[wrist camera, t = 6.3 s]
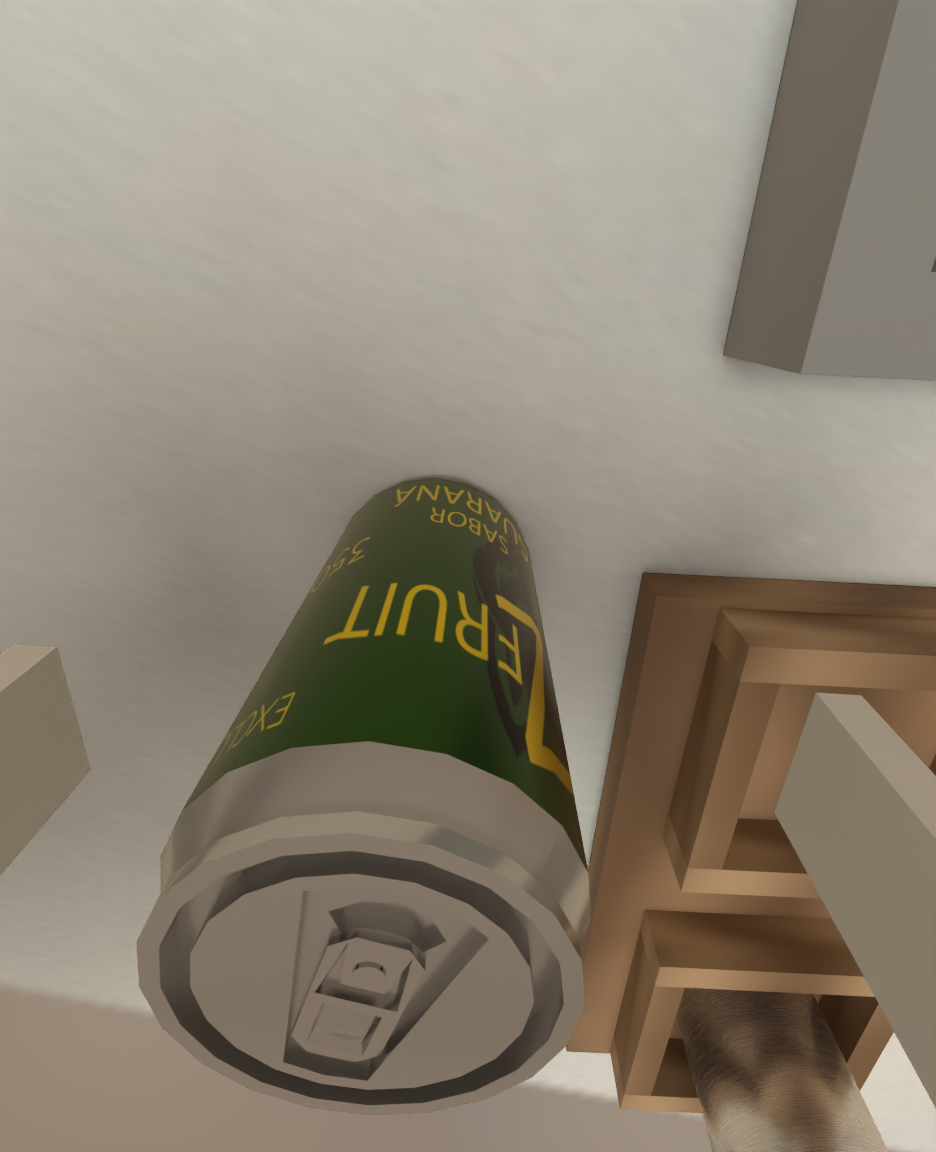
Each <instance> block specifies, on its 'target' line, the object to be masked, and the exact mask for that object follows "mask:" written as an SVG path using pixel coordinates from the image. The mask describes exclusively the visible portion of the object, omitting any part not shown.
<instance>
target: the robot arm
mask: <svg viewBox="0 0 936 1152" xmlns="http://www.w3.org/2000/svg"><path fill="white" fill-rule="evenodd" d="M90 770H91V769H90V766H89V762H88V758H87V755H86V751H85V748H84V744H83V740H82V737H81V733H80V729H79V726H78V722H77V718H76V715H75V711H74V708H73V704H72V700H71V697H70V693H69V689H68V686H67V682H66V678H65V675H64V671H63V667H62V664H61V660H60V657H59V653H58V649H57V647H51V646H35V645H18V644H13V645H12V646H10V647H9V648H7V649H6V650H5V651H3V652H2V653H1V654H0V875H1V874H2V873H3V871H4V870H5V869H6V868H7V867H8V866H9V864H10V863H11V862H12V861H13V860H14V859H15V857H16V856H17V855H18V854H19V853H20V852H21V850H22V849H23V848H24V847H25V846H26V844H27V843H28V842H29V841H30V840H31V839H32V837H33V836H34V835H35V834H36V833H37V832H38V830H39V829H40V828H41V827H42V826H43V825H44V823H45V822H46V821H47V820H48V819H49V818H50V816H51V815H52V814H53V813H54V812H55V811H56V809H57V808H58V807H59V806H60V805H61V804H62V802H63V801H64V800H65V799H66V798H67V797H68V795H69V794H70V793H71V792H72V791H73V789H74V788H75V787H76V786H77V785H78V784H79V782H80V781H81V780H82V779H83V778H84V777H85V775H86V774H87V773H88V772H89V771H90ZM775 815H776V816H777V818H778V820H779V822H780V824H781V826H782V827H783V829H784V831H785V833H786V835H787V837H788V838H789V840H790V842H791V844H792V846H793V848H794V849H795V851H796V853H797V855H798V857H799V859H800V860H801V862H802V864H803V866H804V868H805V870H806V871H807V873H808V875H809V877H810V879H811V881H812V882H813V884H814V886H815V888H816V890H817V892H818V893H819V895H820V897H821V899H822V901H823V903H824V904H825V906H826V908H827V910H828V912H829V914H830V915H831V917H832V919H833V921H834V923H835V925H836V926H837V928H838V930H839V932H840V934H841V935H842V937H843V939H844V941H845V943H846V945H847V946H848V948H849V950H850V952H851V954H852V956H853V957H854V959H855V961H856V963H857V965H858V967H859V968H860V970H861V972H862V974H863V976H864V978H865V979H866V981H867V983H868V985H869V987H870V989H871V990H872V992H873V994H874V996H875V998H876V1000H877V1001H878V1003H879V1005H880V1007H881V1009H882V1011H883V1012H884V1014H885V1016H886V1018H887V1020H888V1022H889V1023H890V1025H891V1027H892V1029H893V1031H894V1033H895V1034H896V1036H897V1038H898V1040H899V1042H900V1044H901V1045H902V1047H903V1049H904V1051H905V1053H906V1054H907V1056H908V1058H909V1060H910V1062H911V1064H912V1065H913V1067H914V1069H915V1071H916V1073H917V1075H918V1076H919V1078H920V1080H921V1082H922V1084H923V1086H924V1087H925V1089H926V1091H927V1093H928V1095H929V1097H930V1098H931V1100H932V1102H933V1104H934V1106H935V1108H936V776H935V775H934V773H933V772H932V771H931V770H930V769H929V768H928V767H927V766H926V765H925V764H924V763H923V762H922V761H921V759H920V758H919V757H918V756H917V755H916V754H915V753H914V752H913V751H912V750H911V749H910V748H909V746H908V745H907V744H906V743H905V742H904V741H903V740H902V739H901V738H900V737H899V736H898V735H897V734H896V732H895V731H894V730H893V729H892V728H891V727H890V726H889V725H888V724H887V723H886V722H885V721H884V719H883V718H882V717H881V716H880V715H879V714H878V713H877V712H876V711H875V710H874V709H873V708H872V707H871V705H870V704H869V703H868V702H867V701H866V700H865V699H864V698H863V697H862V696H861V695H848V694H831V693H816V694H815V697H814V700H813V703H812V705H811V708H810V711H809V714H808V717H807V720H806V723H805V726H804V729H803V732H802V735H801V737H800V740H799V743H798V746H797V749H796V752H795V755H794V758H793V761H792V764H791V766H790V769H789V772H788V775H787V778H786V781H785V784H784V787H783V790H782V793H781V796H780V798H779V801H778V804H777V807H776V810H775Z"/></svg>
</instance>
